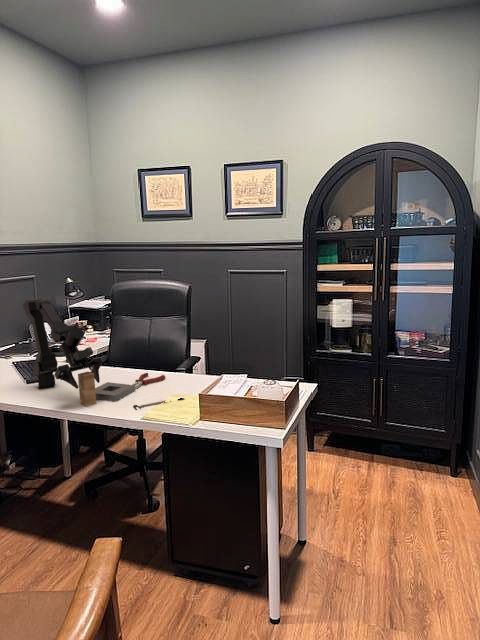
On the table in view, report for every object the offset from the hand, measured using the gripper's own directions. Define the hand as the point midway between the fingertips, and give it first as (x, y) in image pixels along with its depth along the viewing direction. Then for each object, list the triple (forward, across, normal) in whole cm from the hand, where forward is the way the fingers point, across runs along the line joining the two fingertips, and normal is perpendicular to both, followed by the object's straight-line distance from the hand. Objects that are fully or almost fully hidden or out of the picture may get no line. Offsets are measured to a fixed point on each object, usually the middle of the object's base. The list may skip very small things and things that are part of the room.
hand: (88, 385), depth 178 cm
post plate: (+3, +12, +9) cm, 15 cm away
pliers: (+1, +31, +11) cm, 33 cm away
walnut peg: (+5, 0, +7) cm, 8 cm away
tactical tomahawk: (+21, +18, -9) cm, 29 cm away
